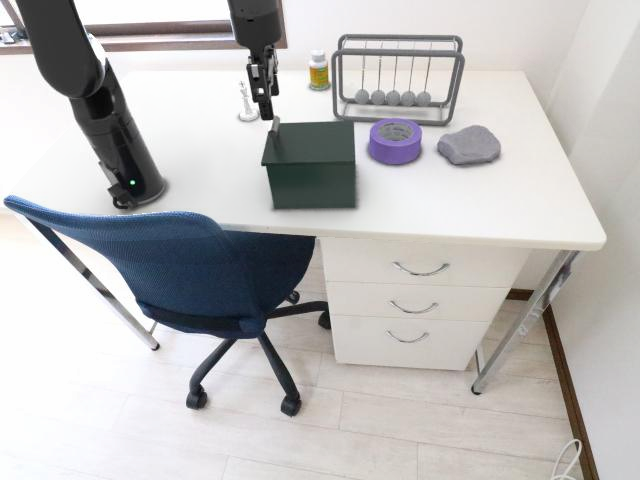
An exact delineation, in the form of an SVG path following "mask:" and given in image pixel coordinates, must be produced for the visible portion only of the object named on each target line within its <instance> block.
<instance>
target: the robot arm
mask: <svg viewBox="0 0 640 480" xmlns="http://www.w3.org/2000/svg"><path fill="white" fill-rule="evenodd" d="M14 2H15V4H16V7H17V9H18V12H19V14H20V17H21V20H22V23H23V26H24V30H25V33H26V35H27V39H28V41H29V45H30V48H31V51H32V54H33V57H34V61H35V64H36V67H37V70H38V72H39V73H40V75H41V77H42V79H43V80H44V81H45V82H46V83H47V84H48V85H49V87H51V88H52V89H53V90H54V91H56V92H57V93H59V94H60V95H62V96H63V97H66V98H67V99H68V101H69V104H70V107H71V109H72V114H73V117H74V120H75V122H76V124H77V126H78V127H79V129H80V131H81V132H82V134H83V135H84V137H85V138H86V140H87V142H88V143H89V145H90V147H91V149H92V150H93V151H94V153H95V155H96V157H97V158H98V160H99V161H98V162H97V164H98V166H99V168H100V169H101V170H102V172H103V174H104V176H105V178H107V180H108V182H109V184H110V185H111V186H110V187H108V188H106V190H107V192H108V194H109V195H110V197H111V198H112V205H113V207H114V208H115V209H118V210H124V211H128V210H129V206H131V207H132V208H136V207H138V206H141V205H145V204H149V203H152V202H153V201H155V200H156V199H158V198H159V197H160V196H161V195H163V193H164V191H165V190H166V182H165V181H164V179H163V177H162V175H161V173H160V171H159V169H158V167H157V165H156V163H155V161H154V159H153V157H152V155H151V152H150V150H149V148H148V146H147V144H146V141H145V140H144V138H143V136H142V133H141V132H140V130H139V128H138V125H137V123H136V121H135V119H134V117H133V115H132V112H131V110H130V108H129V106H128V103H127V100H126V96H125V93H124V91H123V89H122V86H121V84H120V82H119V80H118V78H117V75H116V73H115V71H114V69H113V66H112V65H111V63H110V60H109V58H108V56H107V54H106V52H105V50H104V48H103V47H102V45H101V43H100V42H99V40H98V39H97V38H95V36H94V35H93V34H91V33H90V32H89V31H87V30H86V28H85V25H84V24H83V21H82V19H81V16H80V13H79V10H78V8H77V4H76V1H75V0H14ZM225 2H226V6H227V10H228V15H229V20H230V25H231V29H232V34H233V38H234V41H235V43H236V44H237V45H238V46H240V47H242V48H246V49H248V50H249V55H247V63H246V66H245V69H246V72H247V78H248V84H249V89H250V93H251V100H252V103H253V104H257V105H258V111H259V116H260V119H261V120H262V121H263V122H266V121H267V122H268V121H269V122H270V121H271V120H273V119H274V116H275V113H274V107H273V101H272V98H273V97H278V96H279V95H280V86H279V80H278V73H279V69H278V67H279V60H278V55H277V48H276V44H277V43H278V42H280V40H281V39H282V37H283V28H282V22H281V21H282V20H281V13H280V6H279V0H225ZM260 89H262V90H263V91H262V92H260ZM126 204H128V205H129V206H128V205H126Z"/></svg>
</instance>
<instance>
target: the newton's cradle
mask: <svg viewBox="0 0 640 480" xmlns="http://www.w3.org/2000/svg"><path fill="white" fill-rule="evenodd" d="M347 41H356V42H357V41H359V42H360V41H363V42H365V43H364V47H363V48H358V47H345V45H346V42H347ZM367 42H381V43H380V48H367ZM383 42H397V48H383ZM400 42H422V43H423V42H425V43H427V42H429V43H430V48H429V49H420V48H418V49H416V43H414V46H413V48H399V44H400ZM433 43H453V49H432V48H433ZM456 43H457V45H456ZM463 47H464V42H463V39H462V38H461V36H458V35H455V34H389V33H388V34H387V33H386V34H385V33H384V34H382V33H381V34H380V33H344V34H342V35H340V37H339V38H338V40H337V50H335V51H334V52H333V53H332V55H331V57H330V65H331V66H330V69H331V70H330V71H331V94H332V97H331V98H332V114H333V117H335V118H336V119H337V120H338V121H354V122H368V123H376V122H378V121H381V120H384V119H389V118H390V117H375V116H374V117H373V116H352V115H345V112H346V109H347V105H348V103H349V104H350V103H353V104H359V105H365V104H373V105H375V106H381V105H389V106H391V107H394V106H404V107H411V106H416V107H417V106H418V107H420V108H425V107H439V109H440V110H439V113H440V114H439V115H440V116H439V117H440V118H439V119H440V120H436V119H435V120H432V119H416V118H415V119H412V118H406V119H407V120H410V121H413V122H415V123H416V124H418V125H423V126H424V125H425V126H446V125H448V124H450V123H451V121H452V119H453V117H454V113H455V107H456V105H457V104H456V103H457V99H458V95H459V91H460V87H461V82H462V77H463V73H464V68H465V65H466V58H465V56H464V55H463V53H462V52H463ZM343 56H362V65H363V68H365V65H366V58H365V57H395V66H394V67H395V68H394V79H393V88H395V85H396V75H397V64H398V57H407V58H408V57H411V58H412V61H411V69H410V78H409V87H408V90H406V91H404V92H403V93H402V94H400V92H399V91H397V90H395V89H393V90H390V91H388V92H387V93H385V92H384V90H381V89H380V81H381V68H382V67H381V66H382V60H378V62H379V63H378V64H379V65H378V85H377V86H378V87H377V89H375V90H374V91H372V93H371V95H370V94H369V92H368V90H366V89H364V81H365V80H364V78H365V71H362V73H361V74H362V77H361V78H362V79H361V89H358V90H357V91H356V92H355V93H354V97H353V98H352V97H346V96H344V75H343V74H344V73H343V70H344V69H343ZM416 57H418V58H428V63H427V71H426V78H425V84H424V91H421V92H419V93H418V94H417V95H416V93H414V91H412V90H411V81H412V74H413V68H414V59H415V58H416ZM432 58H451V59H453V58H454V62H453V68H452V72H451V76H450V82H449V87H448V91H447V96H446V99H445V100H444V101H432V95H431V94H430V92H428V91H426V89H427V83H428V78H429V72H430V65H431V59H432ZM337 71H338V73H337ZM337 74H338V85H337ZM337 86H338V89H337ZM338 97H339V99H340V100H341V102H344V103H345V104H344V106H343V107H344V108H343V111H342V113H341V115H340V114H339V112H338ZM449 104H450V106H449V110H448V114H447V118H445V119H444V120H443V107H446V106H447V105H449Z"/></svg>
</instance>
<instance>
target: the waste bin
mask: <svg viewBox="0 0 640 480" xmlns="http://www.w3.org/2000/svg"><path fill="white" fill-rule="evenodd" d="M265 169H266V175H267V179H268V183H269V189H270V193H271V199H272V204H273V208H274V210H286V209H290V210H292V209H293V210H295V209H343V208H348V209H349V208H351V209H352V208H356V164H340V165H301V166H265Z"/></svg>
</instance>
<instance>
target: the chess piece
mask: <svg viewBox="0 0 640 480" xmlns="http://www.w3.org/2000/svg"><path fill="white" fill-rule="evenodd" d="M238 85H239V88H238V90H239V91H240V94H241V95H240V99H242V100H243V107H244V110H242V111H241V112H240V114H239V118H240V120H242V121H247V122H249V121H253V120H255V119H257V118H258V116H259V114H258V111H257V110H256V109H254V108H251V106H250V103H249V100H248V99H249V98H250V96H249V95H250V94H248V93H247V91H248V87H247V86H246V82H244V81H243V79H240V80H239V82H238Z"/></svg>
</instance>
